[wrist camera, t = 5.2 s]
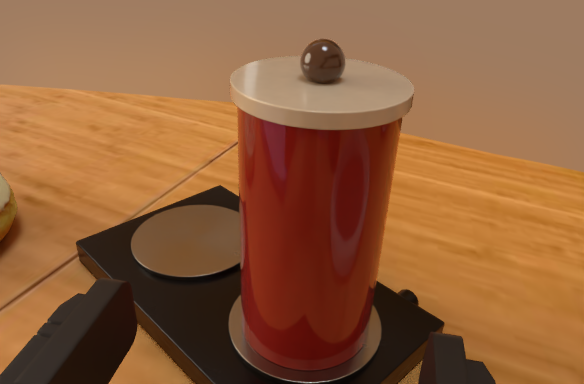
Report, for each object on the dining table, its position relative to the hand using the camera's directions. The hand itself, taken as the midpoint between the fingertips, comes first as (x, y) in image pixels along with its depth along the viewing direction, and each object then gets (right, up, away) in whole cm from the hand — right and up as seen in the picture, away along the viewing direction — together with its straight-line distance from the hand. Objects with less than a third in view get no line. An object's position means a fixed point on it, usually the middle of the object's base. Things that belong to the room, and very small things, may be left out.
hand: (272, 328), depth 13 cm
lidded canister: (+2, -1, +13) cm, 13 cm away
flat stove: (-2, -2, +14) cm, 14 cm away
